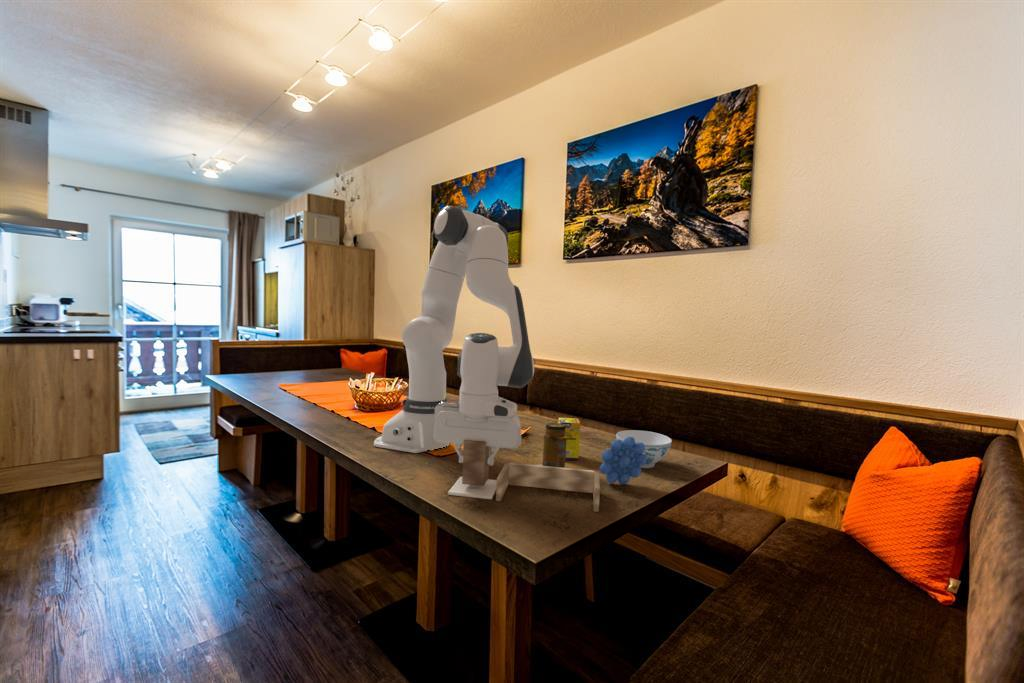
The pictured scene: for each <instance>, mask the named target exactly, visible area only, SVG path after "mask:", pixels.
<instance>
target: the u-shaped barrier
mask: <svg viewBox="0 0 1024 683" xmlns="http://www.w3.org/2000/svg"><path fill="white" fill-rule="evenodd" d="M496 480H497V488H496V493H495V502H496V501H497V502H501V501H502V498H503V497H504V494H505V492H506V490H507V488H508V486H519V487H520V486H521V487H528V488H529V487H530V488H531V487H532V488H541V489H547V490H558V491H568V492H576V493H577V492H578V493H579V492H580V493H588V494H592V495H593V496H592V497H593V512H595V513H596V512H600V493H601V486H600V484H601V483H600V470H591V469H579V468H569V467H565V468H561V467H550V466H539V465H538V464H527V463H517V462H505V463H504V465H503V466H502V469H501V470H500V472H499V473H498V476H497V477H496Z"/></svg>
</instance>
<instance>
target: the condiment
mask: <svg viewBox="0 0 1024 683" xmlns="http://www.w3.org/2000/svg"><path fill="white" fill-rule="evenodd" d="M565 428H566V427H565V425H563V424H560V423H558V422H548V423H547V424H546V425H545V433H544V434H543V443H542V444H543V447H542V463H541V464H540V463H539V464H537V465H539V466H550V467H561V468H566V467H565V466H566V461H567V460H566V444H567V443H566V439H567V438H566V435H565V433H566V431H565Z"/></svg>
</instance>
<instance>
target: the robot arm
mask: <svg viewBox="0 0 1024 683" xmlns="http://www.w3.org/2000/svg"><path fill="white" fill-rule="evenodd" d="M433 233H434V237H435V239H436V240H437V241H438V242H437V244H436V246H435V248H434V251H433V253H432V255H431V258H430V261H429V264H428V268H427V272H426V276H425V279H424V282H423V286H422V289H421V309H420V316H418V317H415V318H413V319H412V320H410V321H409V322H408V323H407V324H406V325H405V326H404V328H403V330H402V332H401V339H402V343H403V345H404V346H405V347H404V348H405V353H406V360H407V365H408V376H409V377H408V378H409V379H408V397H406V398H405V399H403V400H402V401H401V402H400V403H401V404H400V407H401V406H402V410H400V411H399V412H397V414H395V415H394V416H392V417H391V418H389V419H388V420H387V421H386V422H385V423H384V425H383V428H382V431H381V432H382V433H381V435H380V436H377V437H376V438H375V439H374V441H373V446H374V447H377V448H383V449H388V450H395V451H401V452H408V453H413V454H418V453H422V452H423V453H424V452H428V451H427V450H430V451H433V450H432V449H438V448H442V449H444V448H443V447H445V448H447V447H449V446H450V444H454V450H455V452H456V453H457V456H458V463H459V464H463V449H462V448H463V443H464V440H474V441H485V442H486V446H487V447H490V448H491V450H490V451H491V452H492V453H491V455H489V456H487V458H486V465H489V467H490V466H491V467H492V466H494V461H495V456H496V455H497V453H498V452H499V450H500V449H511V450H517V449H518V447H519V446H521V444H522V428H521V427H522V426H521V420H520V417H519V416H518V415H517V411H518V405H517V403H516V402H514V401H511V400H508V399H506V398H504V397H500V396H499V389H498V386H499V387H501V386H502V387H508V388H509V387H510V388H518V389H522V388H524V387H525V386H526V385H528V384H529V383H530V382H531V381H533V379H534V378H533V377H534V373H535V362H534V358H533V355H532V351H531V347H530V346H531V345H530V341H529V334H528V333H529V332H528V327H527V322H526V314H525V313H526V312H525V309H524V308H525V307H524V303H523V302H524V301H523V296H522V293H521V291H520V288H519V287H518V286H517V285H515V284H513V282H512V280H511V277H510V274H509V250H508V244H509V233H508V231H507V229H506V228H505V227H504V226H503V225H501V224H500V223H498V222H495V221H492V220H490V219H489V218H487V217H485V216H483V215H482V214H476V213H474V212H472V211H469V210H465V209H462V208H461V207H458V206H454V205H446V206H444V207H442V208H441V209H440V210H439V211H438V212H437V215H436V217H435V220H434V222H433ZM464 281H465V283H466V287H467V289H468V290H469V291H470V293H471V294H472V295H474V297H475V298H477V299H479V300H481V301H483V302H484V303H487V304H489V305H492V306H494V307H496V308H498V309H500V310H502V311H503V312H504V313H505V314H506V315H507V316H508V318H509V324H510V330H511V338H512V345H511V346H499V343H498V338H497V337H496V336H495V335H494V334H490V333H485V332H475V333H469V334H468V335H466V336H465V337H464V338H463V344H462V348H461V349H462V350H461V352H460V353H459V354H458V355H457V372H456V375H457V376H458V377H459V378H460V380H461V383H460V387H459V393H458V394H459V399H458V402H448V399H447V397H446V396H447V371H446V367H445V361H444V360H445V359H444V353H443V352H444V351H443V350H444V349H446V348H447V347H448V346H449V345H450V343H451V341H452V339H453V337H454V336H453V334H454V333H453V332H454V327H455V321H456V317H457V316H456V315H457V314H456V313H457V307H458V303H459V299H460V295H461V291H462V288H463V286H464V285H463V284H464ZM449 443H450V444H449ZM446 446H447V447H446ZM438 450H439V449H438Z"/></svg>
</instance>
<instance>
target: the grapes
mask: <svg viewBox="0 0 1024 683" xmlns="http://www.w3.org/2000/svg"><path fill="white" fill-rule="evenodd" d="M644 450H645V446H644V444H643V443H641V442H637V443H635V439H634V438H633V437H627V438H625V439H624V441H623V442H622V441H621V440H617V438H616V439H614V440H613V441H612V442H611V443H610V449H609V448H607V449H605V450H604V451H602V453H601V454H600V455H601V460H602V461H603V462H602V463H601V465H600V466H599V473H601V474H603V475H606V476H605V478H606V482H607V483H609V484H614V483H616V482H617V481H618V483H619V484H620V485H627V484H628V483H630V480H631V478H634V479H637V478H639V477H640V475H641V474H642V472H643V471H642V467H640V466H643V465H645V464H646V462H647V456H646V455H645V454H642V453H643V452H644Z"/></svg>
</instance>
